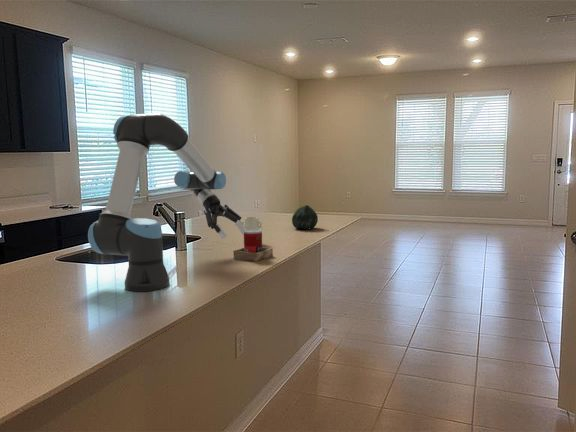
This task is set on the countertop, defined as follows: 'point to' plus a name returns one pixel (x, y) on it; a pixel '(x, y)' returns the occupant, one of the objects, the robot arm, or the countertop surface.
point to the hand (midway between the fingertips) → (235, 234)
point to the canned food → (252, 241)
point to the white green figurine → (252, 223)
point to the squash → (304, 218)
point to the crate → (253, 254)
